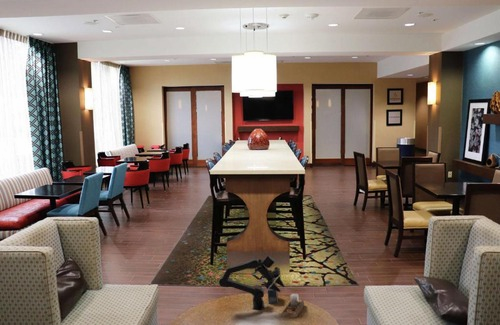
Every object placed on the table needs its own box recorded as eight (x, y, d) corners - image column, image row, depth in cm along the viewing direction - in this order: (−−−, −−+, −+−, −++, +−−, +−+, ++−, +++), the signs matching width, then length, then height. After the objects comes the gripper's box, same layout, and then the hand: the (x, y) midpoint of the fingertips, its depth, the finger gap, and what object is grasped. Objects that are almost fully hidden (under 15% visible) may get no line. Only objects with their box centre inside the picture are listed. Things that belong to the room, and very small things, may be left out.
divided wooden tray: (282, 317, 287) (281, 309, 287) (290, 305, 305) (289, 298, 305) (296, 318, 284) (296, 310, 283) (304, 306, 302) (303, 298, 301)
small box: (269, 299, 321) (267, 284, 320) (278, 298, 320) (276, 284, 319) (268, 304, 310) (267, 290, 310) (277, 304, 310) (276, 289, 309)
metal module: (291, 309, 297) (290, 296, 297) (292, 306, 302) (291, 293, 301) (297, 309, 296) (296, 296, 295) (299, 306, 300) (298, 293, 299)
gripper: (268, 269, 293) (285, 286, 290) (276, 260, 310) (293, 276, 307) (258, 280, 296) (275, 297, 293) (267, 271, 313) (283, 287, 310)
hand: (282, 289), depth 301 cm, fingers open, 9 cm apart
